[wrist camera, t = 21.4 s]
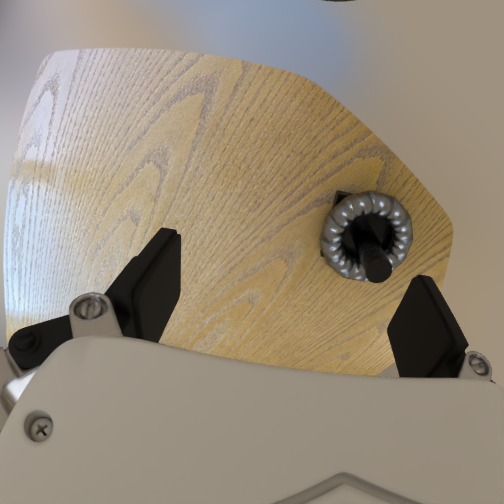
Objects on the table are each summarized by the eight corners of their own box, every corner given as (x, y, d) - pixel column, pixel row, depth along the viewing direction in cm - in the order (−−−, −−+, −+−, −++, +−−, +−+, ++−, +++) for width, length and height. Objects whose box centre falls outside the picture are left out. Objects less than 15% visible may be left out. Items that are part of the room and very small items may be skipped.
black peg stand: (336, 190, 35) (352, 224, 27) (399, 205, 35) (430, 242, 26) (319, 251, 40) (327, 298, 31) (378, 263, 40) (398, 309, 31)
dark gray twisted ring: (334, 178, 33) (338, 184, 31) (420, 202, 33) (429, 211, 31) (309, 263, 40) (310, 275, 37) (388, 279, 39) (393, 291, 37)
